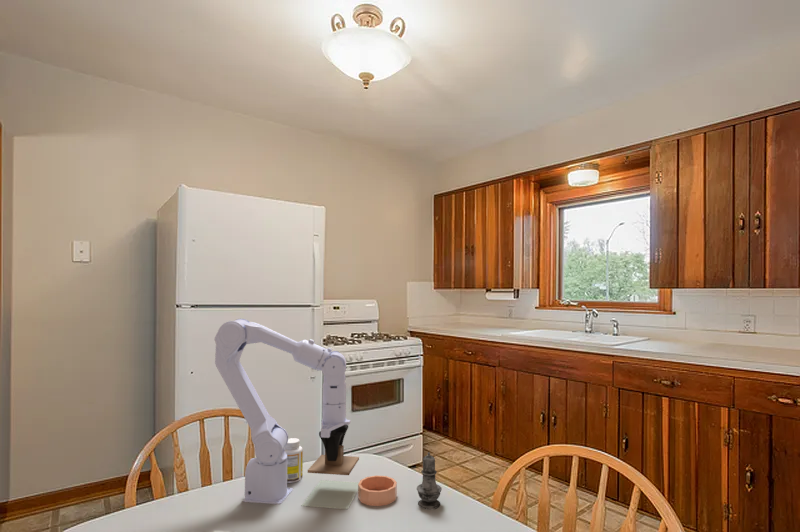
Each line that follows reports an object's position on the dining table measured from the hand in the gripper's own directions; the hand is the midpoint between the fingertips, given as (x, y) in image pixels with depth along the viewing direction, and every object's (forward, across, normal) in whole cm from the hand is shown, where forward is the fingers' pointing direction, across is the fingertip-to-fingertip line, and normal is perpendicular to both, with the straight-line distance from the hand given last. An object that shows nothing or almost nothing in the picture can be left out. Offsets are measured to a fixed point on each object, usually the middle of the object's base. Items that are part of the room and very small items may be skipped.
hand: (333, 458), depth 112 cm
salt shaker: (+9, -2, -24) cm, 25 cm away
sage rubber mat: (+9, 0, 0) cm, 9 cm away
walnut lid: (+2, 0, 0) cm, 2 cm away
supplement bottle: (+9, +6, +13) cm, 17 cm away
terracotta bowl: (+9, 0, -11) cm, 14 cm away
